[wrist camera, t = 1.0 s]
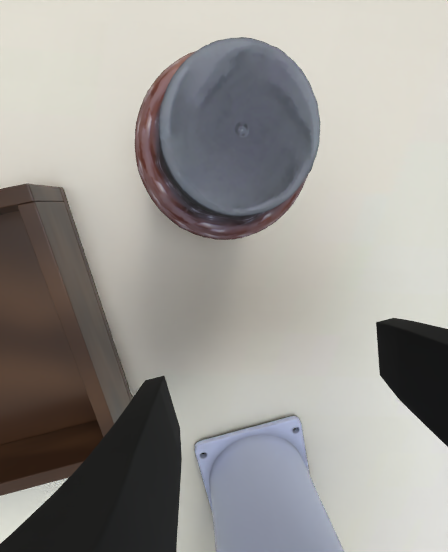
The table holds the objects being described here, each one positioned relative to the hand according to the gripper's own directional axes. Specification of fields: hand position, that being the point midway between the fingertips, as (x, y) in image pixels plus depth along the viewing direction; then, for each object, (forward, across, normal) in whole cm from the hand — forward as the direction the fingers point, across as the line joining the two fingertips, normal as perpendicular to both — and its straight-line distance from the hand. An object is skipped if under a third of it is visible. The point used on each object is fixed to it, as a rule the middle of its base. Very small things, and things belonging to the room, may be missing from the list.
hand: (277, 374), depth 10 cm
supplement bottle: (+11, 0, -7) cm, 13 cm away
